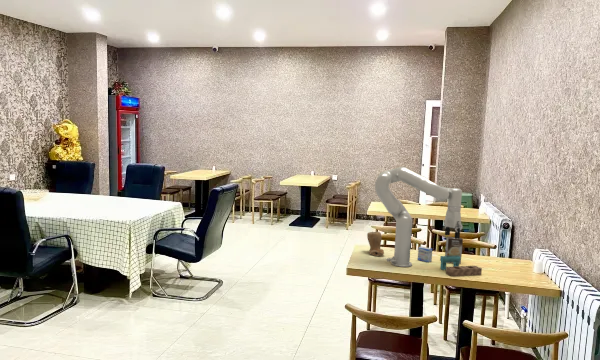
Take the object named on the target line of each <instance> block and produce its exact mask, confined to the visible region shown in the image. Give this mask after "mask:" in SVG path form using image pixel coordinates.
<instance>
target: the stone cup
mask: <svg viewBox="0 0 600 360" xmlns="http://www.w3.org/2000/svg"><path fill="white" fill-rule="evenodd" d="M366 237H367V242H368V245H369V251H368V252H369V254H370V255H372V256H374V257H381V256H384V255H385V251H384V249H382V248H381V244H382V233H381V232H380V231H369V232H367V234H366Z"/></svg>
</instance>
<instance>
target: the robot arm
mask: <svg viewBox="0 0 600 360" xmlns="http://www.w3.org/2000/svg"><path fill="white" fill-rule="evenodd" d="M397 182H402V183H405V184H406V185H409V186H410V187H413V188H415V189H416V190H418V191H421V192H423V193H424V194H427V195H428V196H431V197H432V198H434V199H437V200H439V201H440V202H441V201H442V202H444V201H447V208H446V209H447V210H446V213H445V218H444V220H443V225H444V235H445V236H450V235H451V229H454V237H455V239H459V238H461V232H462V230H463V227H464V226H463V224H462V214H461V209H462V198H463V197H462V195H463V191H462V189H461V188H457V187H451V188H450V187H444V186H440V185H439V184H436V183H435V182H433V181H431V180H429V179H428V178H427V177H425V176H423V175H422V174H419V173H418V172H415V171H413V170H411V169H409V168H408V167H406V166H399V167H396V168H393V169H387V170H384V171H381V173H379V174H378V176H377V178H376V180H375V183H374V190H375V193H376V196H377V197H378V198H379V200H380V201H381V203H382V204H383V206H384V208H385V209H386V211H387V212H388V213H389V214H390V215H392V217H393V219H394V221H396V222H395V234H394V235H395V236H394V237H395V239H394V254H393V256H392V257H388V258H386V262H390V264H391V265H393V266H395V267H401V268H410V267H412V266H413V263H412V262H411V261H410V260H411V258H410V257H411V245H412V243H411V242H412V230H413V219H412V215H411V214H410V213H409V212H408V210H407V209H406V207H405V205H404V204H403V202H402V201H401V200H400V199H398V198H397V197H396V196H395V194H394V193H393V192H392V190H391V189H390V185H391V184H395V183H397Z"/></svg>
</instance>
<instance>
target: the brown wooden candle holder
mask: <svg viewBox="0 0 600 360" xmlns="http://www.w3.org/2000/svg"><path fill="white" fill-rule="evenodd" d="M482 271H483V268H482V267H480V266H478V265H462V266H460V265H459V266H456V267H453V266H446V270H445V274H446V275H448V276H450V277H470V276H482Z"/></svg>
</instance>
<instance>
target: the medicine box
mask: <svg viewBox="0 0 600 360" xmlns="http://www.w3.org/2000/svg"><path fill="white" fill-rule="evenodd" d="M417 261H420V262H425V263H431V262H432V261H433V248H432V247H425V246H422V245H421V246H419V247H418V250H417Z"/></svg>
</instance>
